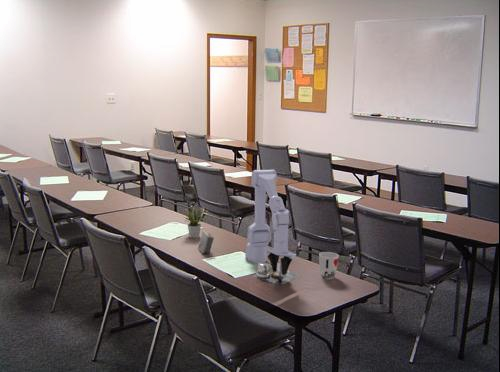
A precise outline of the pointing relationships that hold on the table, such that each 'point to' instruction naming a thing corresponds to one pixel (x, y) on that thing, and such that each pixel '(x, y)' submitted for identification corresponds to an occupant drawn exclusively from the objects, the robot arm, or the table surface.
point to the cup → (328, 264)
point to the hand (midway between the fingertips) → (280, 273)
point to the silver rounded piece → (262, 270)
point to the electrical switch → (205, 242)
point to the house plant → (194, 222)
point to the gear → (280, 269)
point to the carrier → (279, 277)
